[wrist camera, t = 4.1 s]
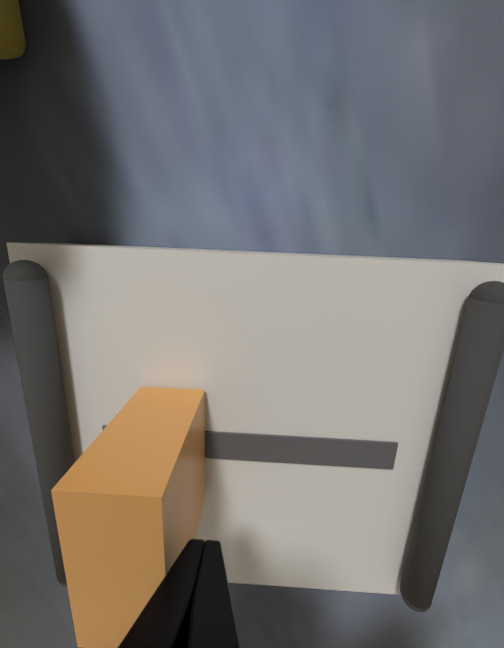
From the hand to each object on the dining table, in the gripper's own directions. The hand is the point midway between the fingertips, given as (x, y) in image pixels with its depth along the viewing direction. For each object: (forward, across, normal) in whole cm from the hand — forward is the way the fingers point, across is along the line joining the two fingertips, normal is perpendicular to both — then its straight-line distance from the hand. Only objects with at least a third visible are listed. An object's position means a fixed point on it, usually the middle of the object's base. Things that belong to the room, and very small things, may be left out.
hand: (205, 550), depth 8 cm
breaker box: (+7, -1, 0) cm, 7 cm away
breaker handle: (+4, +2, 0) cm, 4 cm away
